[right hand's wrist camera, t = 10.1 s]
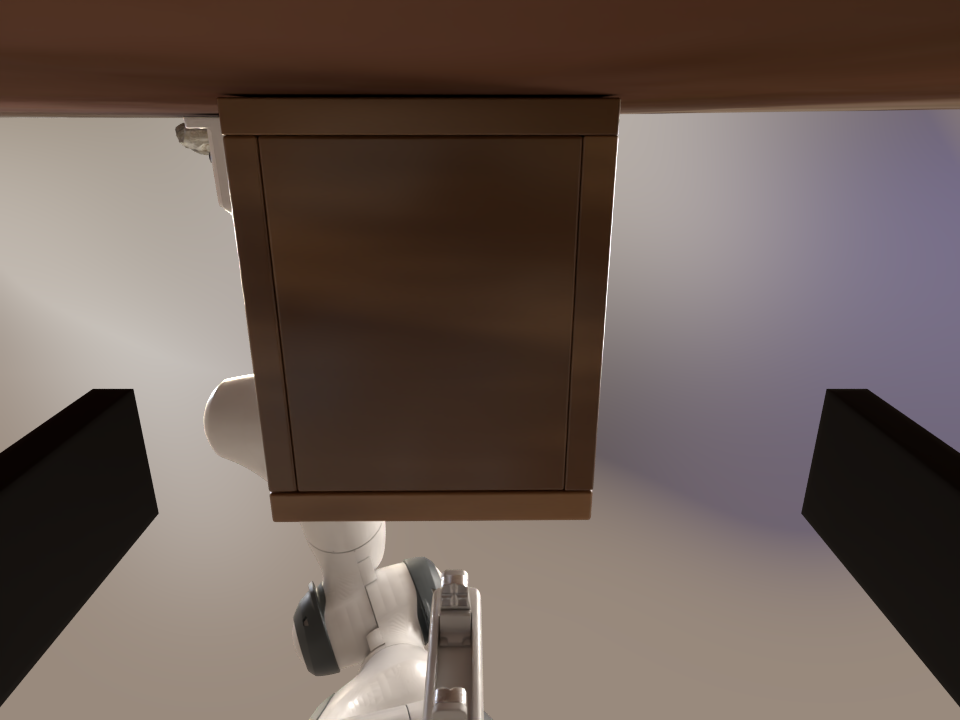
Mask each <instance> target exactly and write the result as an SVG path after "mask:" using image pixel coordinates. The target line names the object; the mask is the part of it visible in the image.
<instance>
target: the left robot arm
mask: <svg viewBox="0 0 960 720" xmlns="http://www.w3.org/2000/svg"><path fill="white" fill-rule="evenodd" d="M183 119H184V122H185V126H186V128H207V133H208V139H209V145H210V152H209V158H210V161H211V162H212V164H213V171H214V177H215V183H216V190H217V196H218V201H219V205H220V206H221V207H223V208H224V209H225V210H226V211H228V212H229V213H231V214H232V215H233V213H232V206H231V198H230V191H229V183H228V175H227V168H226V160H225V153H224V145H223V136H225V135H222V133H221V127H220V119H219V117H183ZM204 429H205V434H206V437H207V439H208V441H209V443H210V445H211V447H212V448H213V450H214V451H215V452H216V453H217V454H218V455H219V456H221V457H223V458H226V459H228V460H231V461H233V462H236V463H238V464H240V465H242V466H244V467H246V468H248V469H250V470H251V471H253V472H254V473H256V474H258V475H259V476H260V477H262V478H263V479H265V480H266V481H267V482H268V479H267V471H266V464H265V456H264V449H263V441H262V434H261V426H260V418H259V411H258V403H257V396H256V388H255V380H254V374H251V375H245V376H240V377H235V378H230V379H226V380H224V381H222V382H221V383H220V384H219V385H218V386H217V387H216V389H215V390H214V391H213V393H212V394H211V396H210V398H209V400H208V402H207V404H206V408H205V412H204ZM300 524H301V526H302V529H303V532H304V535H305V537H306V540H307V542H308V544H309V546H310V548H311V550H312V552H313V554H314V556H315V557H316V559H317V561H318V563H319V565H320V568H321V571H322V574H323V581H322V582H321V583H320V584H319V586H318V587H317V588H315V585H314V583H313V581H312V582H311V583H309V591H308V592H307V594H306V595H305V596H304V597H303V598H302V600H301V601H300V603H299V605H298V607H297V609H296V612H295V614H294V625H293V644H294V648H295V651H296V653H297V655H298V657H299V659H300V660H301V661H302V663H303V664H304V665H305V666H306V667H307V669H308V671H309V672H310V673H312V674H314V675H315V676H324V675H330V674H335V673H339V672H340V669H343V668H347V667H351V666H354V665H357V664H361V663H362V664H361V666H360V668H359V671H358V673H357V676H356V677H355V678H354V679H353V680H351V681H350V682H349V683H347V684H346V685H345V686H343V687H342V688H341V689H340V690H339V691H338V692H336V693H334V694H333V695H331V696H330V697H329V698H327V699H326V700H325V701H323V702H322V703H321V704H320V705H319V706H318V708H317V709H316V710H315V712H314V713H313V715H312V716H311V717H310V719H309V720H493V719H492V718H491V717H490V716H489V715H488V714H487V713H486V712H485V711H484V709H483V708H484V707H483V662H482V615H481V596H480V592H479V591H478V589H476V588H473V587H468V574H467V572H466V571H464V570H445V571H444V572H442V574H441V572H440V571H439V570H438V569H437V568H436V567H435V565H434V563H433V562H432V561H430V560H429V559H427V558H425V557H416V558H410V559H405V560H404V561H403V563H399V564H395V565H390V566H387V567H383V568H380V569H377V570H375V569H376V568H377V566H378V565H379V563H380V562H381V560H382V557H383V554H384V548H385V538H386V527H385V521H341V522H300ZM427 643H428V651H426V650H425V649H424V645H426V644H427Z"/></svg>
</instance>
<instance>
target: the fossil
mask: <svg viewBox="0 0 960 720" xmlns="http://www.w3.org/2000/svg"><path fill="white" fill-rule="evenodd" d="M175 130H176V135H177V137H178V139H179V142H180V143H181V144H182V145H183V146H185V147H186V148H190V149H192V150H193V151H195V152H197V153H199V154H204V155H209V152H210V145H209V139H208V133H207V128H186V126H185V123H182V124H180V125H178V126H177V127H176V129H175ZM211 163H212V162H211Z"/></svg>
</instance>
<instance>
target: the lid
mask: <svg viewBox="0 0 960 720" xmlns="http://www.w3.org/2000/svg"><path fill="white" fill-rule="evenodd" d="M270 502H271V510H272V517H273V521H274V522H341V521H483V520H589V519H590V517H591V507H592V490H565V488H564V489H562V490H440V491H298V489H297V490H296V491H288V492H271V493H270Z"/></svg>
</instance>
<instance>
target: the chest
mask: <svg viewBox="0 0 960 720" xmlns="http://www.w3.org/2000/svg"><path fill="white" fill-rule="evenodd" d="M217 104H218V112H219V119H220V127H221V133H222V135H225V136H223V145H224V153H225V160H226V168H227V175H228V183H229V191H230V198H231V206H232V213H233V221H234V229H235V236H236V244H237V251H238V259H239V266H240V274H241V282H242V289H243V297H244V304H245V312H246V320H247V327H248V335H249V342H250V350H251V358H252V365H253V372H254V380H255V388H256V396H257V403H258V411H259V418H260V426H261V434H262V441H263V449H264V456H265V464H266V471H267V479H268V487H269V491H271V492H288V491H296V490H297V489H298V491H440V490H562V489H564V488H565V490H593V483H594V469H595V455H596V441H597V427H598V413H599V399H600V385H601V371H602V357H603V343H604V329H605V315H606V301H607V287H608V273H609V258H610V245H611V231H612V216H613V202H614V189H615V174H616V161H617V147H618V136H617V135H618V132H619V118H620V104H621V99H620V98H608V97H218V98H217Z"/></svg>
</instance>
